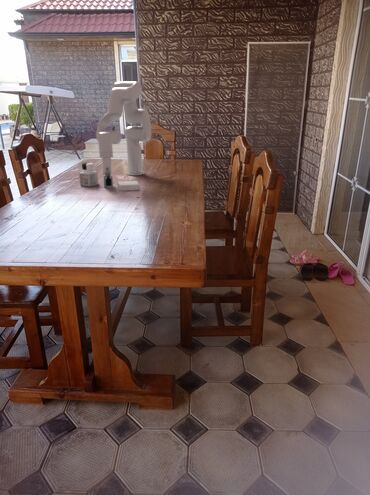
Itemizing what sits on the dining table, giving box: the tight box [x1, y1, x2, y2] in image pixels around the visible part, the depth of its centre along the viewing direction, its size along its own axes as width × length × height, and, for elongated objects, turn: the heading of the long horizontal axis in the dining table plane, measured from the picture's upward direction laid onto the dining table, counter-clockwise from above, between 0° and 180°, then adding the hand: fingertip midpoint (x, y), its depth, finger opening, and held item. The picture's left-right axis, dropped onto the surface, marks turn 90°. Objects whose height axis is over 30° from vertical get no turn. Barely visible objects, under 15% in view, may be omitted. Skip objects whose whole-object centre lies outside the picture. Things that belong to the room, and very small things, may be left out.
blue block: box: [102, 175, 114, 189], centre depth 219 cm, size 5×5×6 cm
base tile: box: [117, 180, 140, 192], centre depth 215 cm, size 11×11×3 cm
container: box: [78, 162, 99, 187], centre depth 222 cm, size 8×8×13 cm
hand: (108, 184), depth 219 cm, fingers open, 9 cm apart
